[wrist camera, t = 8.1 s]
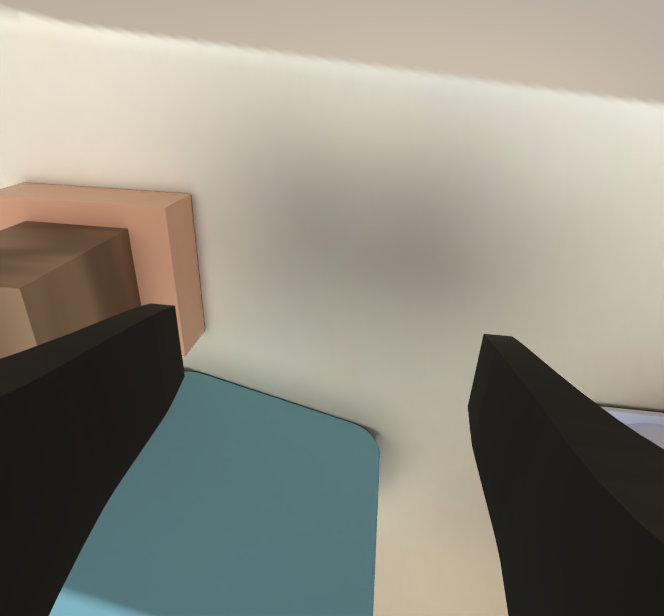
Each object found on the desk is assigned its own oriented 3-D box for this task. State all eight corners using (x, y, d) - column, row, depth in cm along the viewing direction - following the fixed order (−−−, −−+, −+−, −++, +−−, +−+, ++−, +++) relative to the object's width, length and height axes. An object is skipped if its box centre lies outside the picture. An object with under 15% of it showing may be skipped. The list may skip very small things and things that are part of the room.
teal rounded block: (163, 421, 27) (9, 648, 16) (173, 362, 25) (4, 577, 14) (356, 484, 27) (330, 747, 16) (382, 430, 25) (372, 692, 14)
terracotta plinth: (190, 193, 20) (165, 207, 18) (205, 330, 23) (184, 356, 21) (23, 182, 21) (-21, 195, 19) (60, 316, 24) (26, 340, 22)
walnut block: (127, 228, 18) (19, 288, 13) (144, 324, 21) (56, 410, 15) (25, 220, 19) (-119, 276, 14) (52, 315, 21) (-65, 395, 16)
